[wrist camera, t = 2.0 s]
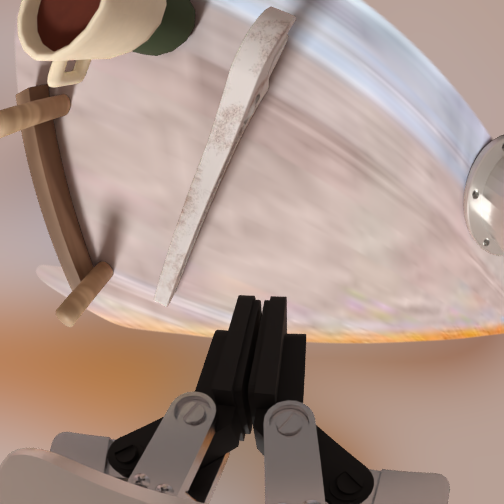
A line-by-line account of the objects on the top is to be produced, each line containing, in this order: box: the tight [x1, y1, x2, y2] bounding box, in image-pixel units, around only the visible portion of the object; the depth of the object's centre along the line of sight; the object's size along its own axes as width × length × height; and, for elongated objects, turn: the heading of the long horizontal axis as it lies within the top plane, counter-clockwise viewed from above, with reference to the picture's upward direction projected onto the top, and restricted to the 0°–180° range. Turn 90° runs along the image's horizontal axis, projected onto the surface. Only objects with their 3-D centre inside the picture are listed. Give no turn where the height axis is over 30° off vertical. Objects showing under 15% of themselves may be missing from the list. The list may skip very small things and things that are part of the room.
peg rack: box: [0, 84, 113, 327], centre depth 26 cm, size 5×26×9 cm, turn 4°
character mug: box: [17, 0, 195, 88], centre depth 14 cm, size 11×7×13 cm, turn 151°
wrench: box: [154, 7, 296, 307], centre depth 24 cm, size 8×2×30 cm
